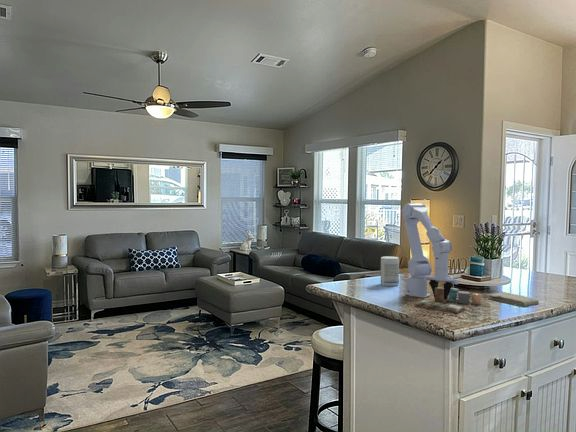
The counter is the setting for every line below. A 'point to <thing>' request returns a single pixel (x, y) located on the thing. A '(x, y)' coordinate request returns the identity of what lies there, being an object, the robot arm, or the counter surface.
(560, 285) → the counter surface
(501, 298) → the washcloth
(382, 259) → the supplement tub
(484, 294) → the counter surface
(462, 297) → the charcoal cube
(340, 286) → the counter surface
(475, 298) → the peach round blob
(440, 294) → the walnut block
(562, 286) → the counter surface
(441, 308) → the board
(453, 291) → the teal spool
